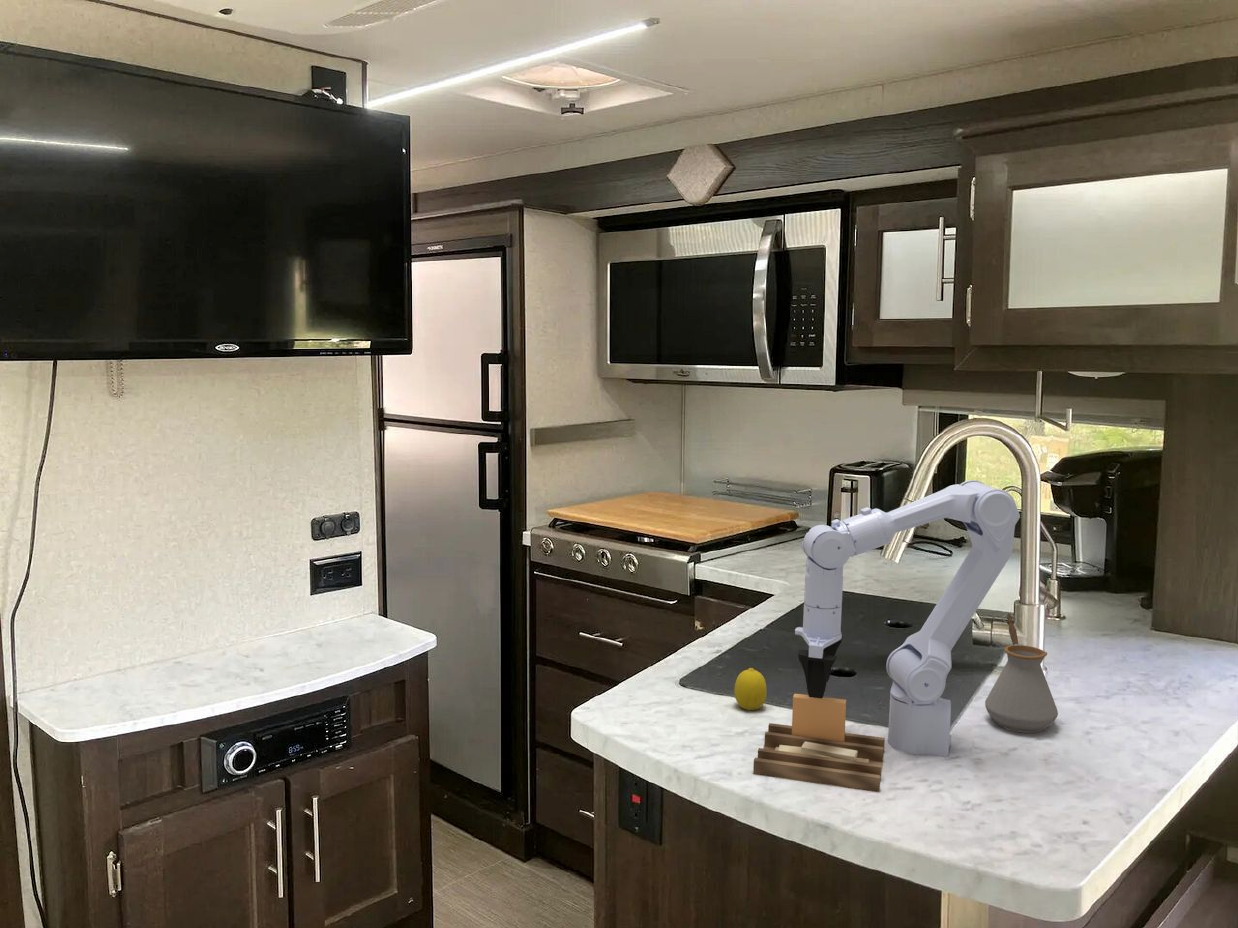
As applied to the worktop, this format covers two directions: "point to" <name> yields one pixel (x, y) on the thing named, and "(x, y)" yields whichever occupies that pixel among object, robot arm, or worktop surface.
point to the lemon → (750, 689)
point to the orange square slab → (819, 717)
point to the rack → (821, 760)
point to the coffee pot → (1022, 690)
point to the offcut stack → (823, 751)
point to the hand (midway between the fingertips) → (818, 688)
